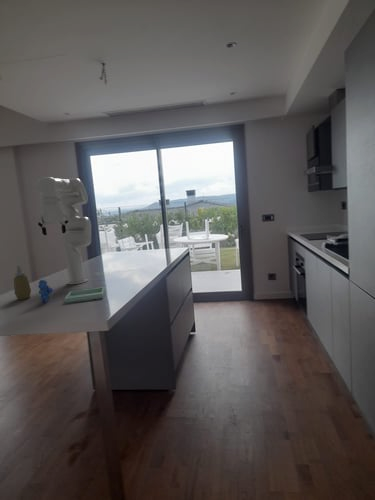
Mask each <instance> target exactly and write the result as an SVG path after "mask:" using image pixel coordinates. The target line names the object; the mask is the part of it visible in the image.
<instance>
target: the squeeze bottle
mask: <svg viewBox="0 0 375 500" xmlns="http://www.w3.org/2000/svg"><path fill="white" fill-rule="evenodd" d="M14 276H15V277H14V278H13V289H14V295H15V297H16V298H17V300H19V301H20V300H21V301H22V300H26V299H30V298H31V294H32V293H31V292H32V289H31V286H30V285H31V284H30V282H29V279H28V276H27V275H26V273H25V271H23V270H22V267H21V266H20V265H17V266H16V272H15V273H14Z"/></svg>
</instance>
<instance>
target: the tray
mask: <svg viewBox="0 0 375 500" xmlns="http://www.w3.org/2000/svg"><path fill="white" fill-rule="evenodd" d="M105 294H106V287H104V286H102V287H95V288H87V289H78V290H72V291H69V292H68V294H66V296H65V298H64V303H65V304H71V303H73V304H74V303H81V302H86V301H94V300H93V299H96V300H100V298H103V299H104V297H105ZM103 296H104V297H103Z"/></svg>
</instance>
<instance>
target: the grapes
mask: <svg viewBox="0 0 375 500" xmlns="http://www.w3.org/2000/svg"><path fill="white" fill-rule="evenodd" d="M47 283H48V281H46V280H45V279H41V280H39V282H38V285H37V287H38V289H39V291H38V294H40V297H39V299H41V301H42V302H43V303H47V302H48V301H50V298H51V297H50V294H52V292H53V290H54V289H53V288H52V287H51V286H49V285H48V284H47Z"/></svg>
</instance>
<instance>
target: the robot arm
mask: <svg viewBox="0 0 375 500" xmlns="http://www.w3.org/2000/svg"><path fill="white" fill-rule="evenodd" d="M35 190H36V192H37V193H38V194H39V195H41V201H42V204H41V205H40V216H39V217H37V218H36V219H34V221H35V222H36V224H37V225H38V227H40V228H41V232H42V235H43V236H47V235H48V234H47V228H46V225H47V224H60V225H61V232H62V235H61V239H60V240H61V244H62V246H63V250H64V255H65V262H66V268H67V269H66V270H67V275H68V280H67V281H66V285H78V284H79V285H80V284H84V283H86V282H87V281H89V279H88V278H86V276H85V271H84V264H83V257H82V252H81V251H80V250H79V248H81V247H88V246H90V245H91V244H92V222H91V219H90V218H89V217H87V216H80V211H79V210H78V209H77V208H76V207H74V206H78V205H80V206H81V205H85V204H87V203H88V201H89V197H88V193H87V190H86V187H85V185H84V183H83V181H82V180H81V179H80V178H77V177H76V178H65V179H64V178H54V177H51V176H45V177H41V178H40V179H38V180H36V182H35ZM58 194H59V195H60V194H61V195H60V198H58ZM59 202H61V204H60V203H59ZM61 205H62V207H61ZM62 208H63V210H62ZM63 211H64V212H65V213H64V214H63ZM64 219H65V220H64ZM40 221H41V222H40Z"/></svg>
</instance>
